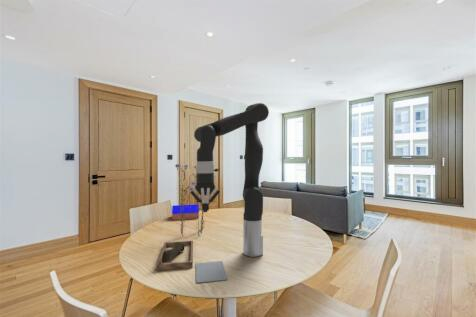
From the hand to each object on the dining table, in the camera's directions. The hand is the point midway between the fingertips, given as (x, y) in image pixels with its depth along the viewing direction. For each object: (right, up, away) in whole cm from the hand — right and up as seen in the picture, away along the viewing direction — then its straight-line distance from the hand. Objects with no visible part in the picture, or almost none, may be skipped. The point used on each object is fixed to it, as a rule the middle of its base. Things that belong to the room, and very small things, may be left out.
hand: (205, 211), depth 97 cm
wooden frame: (-16, -25, +13) cm, 32 cm away
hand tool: (-16, -28, +13) cm, 34 cm away
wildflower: (-14, -25, +41) cm, 50 cm away
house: (-27, -25, +78) cm, 87 cm away
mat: (+2, -25, -2) cm, 25 cm away
